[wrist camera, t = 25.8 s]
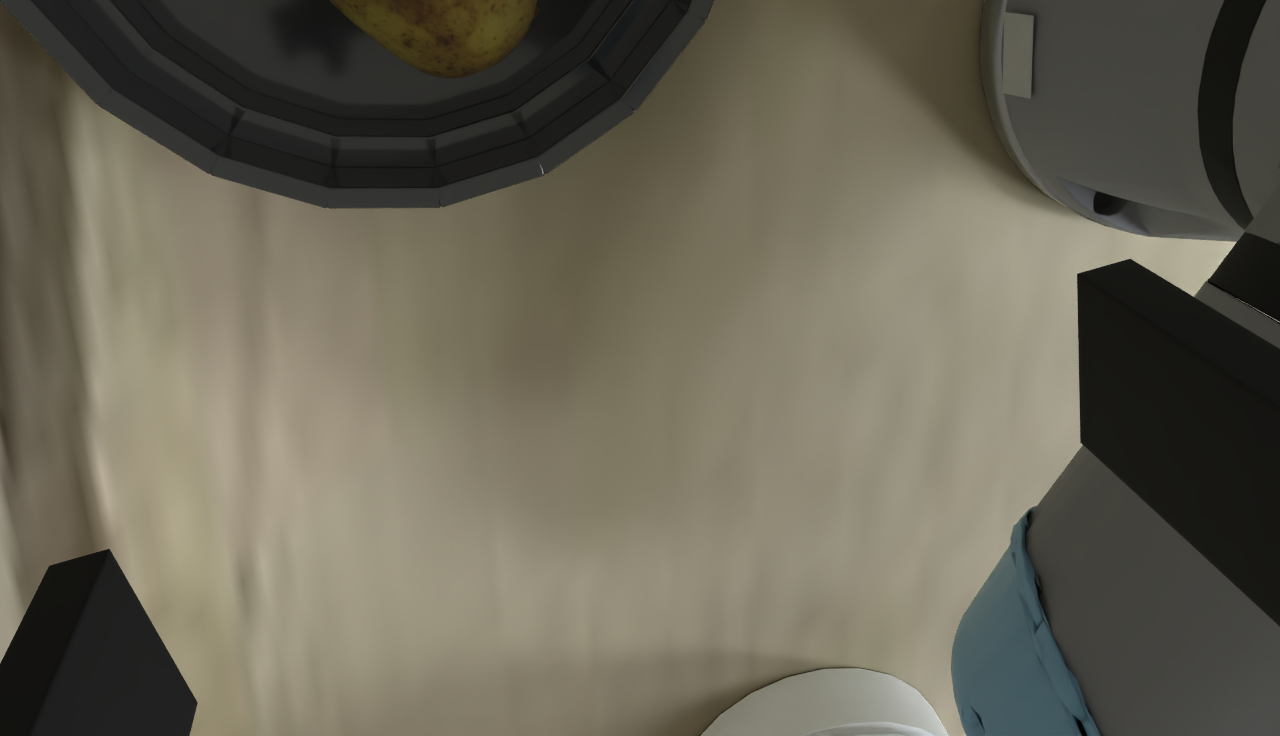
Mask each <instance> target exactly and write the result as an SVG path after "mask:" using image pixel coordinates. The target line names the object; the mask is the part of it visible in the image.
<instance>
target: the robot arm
mask: <svg viewBox="0 0 1280 736" xmlns="http://www.w3.org/2000/svg"><path fill="white" fill-rule="evenodd" d="M980 57H981V73H982V80H983V87H984V93H985V97H986V101H987V105H988V109H989V113H990V116H991V118H992V121H993V124H994V126H995V129H996V132H997V134H998V136H999V138H1000V140H1001V142H1002V144H1003V146H1004V148H1005V149H1006V151H1007V152H1008V154H1009V155H1010V157H1011V158H1012V160H1013V162H1014V163H1015V164H1016V166H1017V167H1018V168H1019V169H1020V170H1021V172H1022V173H1023V174H1024V175H1025V176H1026V177H1027V178H1028V179H1029V180H1030V181H1031V182H1032V183H1033V184H1034V185H1035V186H1036V187H1037V188H1038V189H1040V190H1041V191H1042V192H1044V193H1045V194H1046V195H1048V196H1049V197H1051V198H1052V199H1054V200H1055V201H1057V202H1059V203H1060V204H1062V205H1064V206H1065V207H1067V208H1069V209H1071V210H1072V211H1074V212H1076V213H1078V214H1080V215H1082V216H1083V217H1085V218H1087V219H1089V220H1091V221H1094V222H1097V223H1099V224H1102V225H1104V226H1108V227H1112V228H1115V229H1118V230H1122V231H1125V232H1129V233H1133V234H1138V235H1144V236H1150V237H1161V238H1180V239H1198V240H1217V241H1236V242H1237V243H1236V244H1235V245H1234V247H1233V248H1232V250H1231V251H1230V252H1229V254H1228V255H1227V256H1226V258H1225V259H1224V260H1223V262H1222V263H1221V264H1220V266H1219V267H1218V268H1217V270H1216V271H1215V272H1214V274H1213V275H1212V276H1211V278H1210V279H1208V281H1207V282H1205V283H1204V285H1203V286H1202V287H1201V289H1200V290H1199V291H1198V293H1197V294H1196V295H1195V297H1193V296H1191V295H1190V294H1188V293H1186V292H1185V291H1183V290H1181V289H1180V288H1178V287H1176V286H1175V285H1173V284H1171V283H1170V282H1168V281H1166V280H1165V279H1163V278H1161V277H1160V276H1158V275H1156V274H1155V273H1153V272H1151V271H1150V270H1148V269H1146V268H1145V267H1143V266H1141V265H1140V264H1138V263H1136V262H1135V261H1133V260H1131V259H1128V260H1124V261H1121V262H1117V263H1114V264H1110V265H1107V266H1103V267H1100V268H1096V269H1093V270H1089V271H1086V272H1082V273H1079V274H1077V288H1078V338H1079V389H1080V439H1081V443H1082V444H1083V446H1082V447H1081V448H1080V450H1079V451H1078V452H1077V454H1076V455H1075V456H1074V458H1073V459H1072V460H1071V462H1070V463H1069V464H1068V466H1067V467H1066V468H1065V470H1064V471H1063V472H1062V474H1061V475H1060V476H1059V478H1058V479H1057V480H1056V482H1055V483H1054V484H1053V486H1052V487H1051V488H1050V490H1049V491H1048V492H1047V494H1046V495H1045V496H1044V498H1043V499H1042V500H1041V502H1040V503H1039V504H1038V506H1035V507H1032V508H1031V509H1029V510H1028V511H1027V512H1026V513H1025V515H1024V516H1023V517H1021V518H1020V520H1019V521H1018V523H1017V524H1016V525H1014V527H1013V531H1012V535H1011V544H1010V546H1009V547H1008V549H1007V550H1006V552H1005V553H1004V555H1003V556H1002V558H1001V559H1000V561H999V562H998V564H997V565H996V567H995V568H994V570H993V571H992V573H991V574H990V576H989V577H988V579H987V580H986V582H985V583H984V585H983V586H982V588H981V589H980V591H979V592H978V594H977V595H976V597H975V598H974V600H973V601H972V603H971V604H970V606H969V607H968V609H967V610H966V612H965V613H964V615H963V617H962V619H961V621H960V624H959V626H958V629H957V632H956V635H955V639H954V643H953V648H952V660H951V673H952V682H953V690H954V697H955V701H956V704H957V708H958V712H959V716H960V719H961V722H962V726H963V729H964V731H965V733H966V735H967V736H1280V323H1279V322H1280V0H984V6H983V14H982V21H981V38H980ZM1224 291H1225V292H1224ZM1231 295H1232V296H1231ZM1233 296H1234V297H1233ZM1235 297H1236V298H1235ZM1240 300H1241V301H1240ZM1242 301H1243V302H1242ZM1244 302H1245V303H1244ZM1246 303H1247V304H1248V305H1247V304H1246ZM1249 305H1250V306H1249ZM1251 306H1252V307H1251ZM1253 307H1254V308H1253ZM1255 308H1256V309H1258V310H1259V311H1258V310H1256V309H1255ZM1260 311H1261V312H1260ZM1262 312H1263V313H1265V314H1267V315H1269V316H1270V317H1272V318H1274V319H1276V320H1278V321H1279V322H1278V321H1276V320H1274V319H1272V318H1270V317H1269V316H1267V315H1265V314H1263V313H1262ZM196 707H197V701H196V699H195V697H194V696H193V694H192V692H191V690H190V689H189V687H188V685H187V683H186V682H185V680H184V678H183V676H182V675H181V673H180V671H179V669H178V668H177V666H176V664H175V662H174V661H173V659H172V657H171V655H170V654H169V652H168V650H167V649H166V647H165V645H164V643H163V642H162V640H161V638H160V636H159V635H158V633H157V631H156V629H155V628H154V626H153V624H152V622H151V621H150V619H149V617H148V615H147V614H146V612H145V610H144V608H143V607H142V605H141V603H140V601H139V600H138V598H137V596H136V594H135V593H134V591H133V589H132V587H131V586H130V584H129V582H128V580H127V579H126V577H125V575H124V573H123V572H122V570H121V568H120V566H119V565H118V563H117V561H116V559H115V558H114V556H113V554H112V552H111V551H110V549H107V550H103V551H100V552H96V553H93V554H89V555H86V556H82V557H79V558H75V559H72V560H68V561H65V562H61V563H58V564H54V565H51V566H49V567H48V569H47V571H46V573H45V575H44V577H43V579H42V581H41V583H40V585H39V587H38V589H37V591H36V593H35V595H34V597H33V599H32V601H31V603H30V605H29V607H28V609H27V611H26V613H25V615H24V617H23V619H22V621H21V623H20V625H19V627H18V629H17V631H16V633H15V635H14V637H13V639H12V641H11V643H10V645H9V647H8V649H7V651H6V653H5V655H4V657H3V659H2V661H1V663H0V736H189V735H190V731H191V727H192V723H193V719H194V715H195V711H196Z"/></svg>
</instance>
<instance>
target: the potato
mask: <svg viewBox="0 0 1280 736" xmlns="http://www.w3.org/2000/svg"><path fill="white" fill-rule="evenodd" d="M330 2H331V3H332V4H334V5H335V6H336V7H337V8H338V9H339V10H340V11H341V12H342V13H343V14H344V15H345V16H346V17H347V18H348V19H349V20H351V21H352V22H353V23H354V24H355V25H357V26H358V27H359V28H360V29H361V30H363V31H364V32H365V33H366V34H368V35H369V36H370V37H371V38H373V39H374V40H375V41H376V42H378V43H379V44H380V45H381V46H383V47H384V48H385V49H387V50H388V51H389V52H391V53H392V54H393V55H395V56H396V57H397V58H399V59H400V60H402V61H403V62H405V63H406V64H408V65H410V66H412V67H413V68H415V69H417V70H419V71H421V72H424V73H426V74H428V75H432V76H436V77H441V78H447V79H453V78H463V77H467V76H470V75H473V74H476V73H479V72H481V71H484V70H486V69H488V68H490V67H492V66H494V65H496V64H498V63H499V62H501V61H503V60H504V59H505V58H506V57H507V56H508V55H509V54H510V53H511V52H513V51H514V50H515V48H516V47H517V46H518V44H519V43H520V42H521V40H522V39H523V38H524V36H525V34H526V33H527V31H528V29H529V27H530V24H531V22H532V20H533V19H534V18H535V17H536V16H537V15H538V13H539V8H538V7H537V5H536V3H537V0H330Z"/></svg>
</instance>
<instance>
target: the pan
mask: <svg viewBox="0 0 1280 736" xmlns="http://www.w3.org/2000/svg"><path fill="white" fill-rule="evenodd" d="M0 2H1V3H2V4H3V5H4V6H5V7H6V8H7V9H8V11H9V12H10V13H11V14H12V15H13V16H14V17H15V18H16V19H17V20H18V21H19V22H20V23H21V24H22V25H23V27H24V28H25V29H26V30H27V31H28V32H29V33H30V34H31V35H32V36H33V37H34V38H35V39H36V40H37V41H38V42H39V44H40V45H41V46H42V47H43V48H44V49H45V50H46V51H47V52H48V53H49V54H50V55H51V56H52V57H53V58H54V60H55V61H56V62H57V63H58V64H59V65H60V66H61V67H62V68H63V69H64V70H65V71H66V72H67V73H68V74H69V76H70V77H71V78H72V79H73V80H74V81H75V82H76V83H77V84H78V85H79V86H80V87H81V88H82V89H83V90H84V92H85V93H86V94H87V95H88V96H89V97H90V98H91V99H92V100H93V101H94V102H95V103H96V104H99V106H100V107H101V108H103V109H104V110H106V111H108V112H109V113H111V114H113V115H114V116H116V117H117V118H119V119H121V120H122V121H124V122H125V123H127V124H129V125H130V126H132V127H134V128H135V129H137V130H138V131H140V132H142V133H143V134H145V135H147V136H148V137H150V138H151V139H153V140H155V141H156V142H158V143H159V144H161V145H163V146H164V147H166V148H168V149H169V150H171V151H172V152H174V153H176V154H177V155H179V156H180V157H182V158H184V159H185V160H187V161H189V162H190V163H192V164H193V165H195V166H197V167H198V168H200V169H201V170H203V171H205V172H206V173H208V174H210V173H211V175H212V176H216V177H219V178H222V179H226V180H229V181H233V182H236V183H240V184H243V185H247V186H250V187H254V188H257V189H261V190H264V191H267V192H271V193H274V194H278V195H281V196H285V197H288V198H292V199H295V200H299V201H302V202H305V203H309V204H312V205H316V206H319V207H323V208H327V207H328V208H330V209H336V208H439V207H440V206H441V207H446V206H449V205H452V204H455V203H458V202H461V201H465V200H468V199H471V198H474V197H477V196H480V195H484V194H487V193H490V192H493V191H496V190H500V189H503V188H506V187H509V186H512V185H515V184H519V183H522V182H525V181H528V180H531V179H534V178H538V177H541V176H543V175H545V174H548V173H549V172H551V171H552V170H554V169H555V168H556V167H558V166H559V165H561V164H562V163H564V162H565V161H566V160H568V159H569V158H571V157H572V156H574V155H575V154H576V153H578V152H579V151H581V150H582V149H584V148H585V147H586V146H588V145H589V144H591V143H592V142H594V141H595V140H596V139H598V138H599V137H601V136H602V135H604V134H605V133H606V132H608V131H609V130H611V129H612V128H614V127H615V126H616V125H618V124H619V123H621V122H622V121H624V120H625V119H626V118H628V117H629V116H631V115H632V114H634V112H635V111H636V110H638V108H639V107H640V106H641V105H642V103H643V102H644V101H645V99H646V98H647V97H648V96H649V94H650V93H651V92H652V90H653V89H654V88H655V86H656V85H657V84H658V83H659V81H660V80H661V79H662V77H663V76H664V75H665V74H666V72H667V71H668V70H669V68H670V67H671V66H672V65H673V63H674V62H675V61H676V59H677V58H678V57H679V56H680V54H681V53H682V52H683V50H684V49H685V48H686V46H687V45H688V44H689V43H690V41H691V40H692V39H693V37H694V36H695V35H696V34H697V32H698V31H699V30H700V28H701V27H702V26H703V25H704V23H705V20H706V19H707V18H708V15H709V12H710V10H711V7H712V5H713V2H714V0H537V3H536V5H537V7H538V8H539V13H538V15H537V16H536V17H535V18H534V19H533V20H532V22H531V24H530V27H529V29H528V31H527V33H526V34H525V36H524V38H523V39H522V40H521V42H520V43H519V44H518V46H517V47H516V48H515V50H514V51H513V52H511V53H510V54H509V55H508V56H507V57H506V58H505V59H504V60H503V61H501V62H499V63H498V64H496V65H494V66H492V67H490V68H488V69H486V70H484V71H481V72H479V73H476V74H473V75H470V76H467V77H463V78H453V79H447V78H441V77H436V76H432V75H428V74H426V73H424V72H421V71H419V70H417V69H415V68H413V67H412V66H410V65H408V64H406V63H405V62H403V61H402V60H400V59H399V58H397V57H396V56H395V55H393V54H392V53H391V52H389V51H388V50H387V49H385V48H384V47H383V46H381V45H380V44H379V43H378V42H376V41H375V40H374V39H373V38H371V37H370V36H369V35H368V34H366V33H365V32H364V31H363V30H361V29H360V28H359V27H358V26H357V25H355V24H354V23H353V22H352V21H351V20H349V19H348V18H347V17H346V16H345V15H344V14H343V13H342V12H341V11H340V10H339V9H338V8H337V7H336V6H335V5H334V4H332V3H331V2H330V0H0Z"/></svg>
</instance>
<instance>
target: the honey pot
mask: <svg viewBox="0 0 1280 736" xmlns="http://www.w3.org/2000/svg"><path fill="white" fill-rule="evenodd" d="M701 736H949V735H948V733H947V731H946V730H945V728H944V726H943V725H942V723H941V721H940V719H939V718H938V716H937V714H936V713H935V711H934V709H933V708H932V707H931V706H930V704H929V703H928V702H927V701H926V700H925V699H924V698H923V696H922V695H921V694H920V693H919V692H918V691H917V690H916V689H915V688H913V687H912V686H910V685H908V684H906V683H904V682H903V681H901V680H899V679H897V678H895V677H894V676H892V675H888V674H884V673H879V672H875V671H870V670H866V669H861V668H842V669H821V670H817V671H812V672H808V673H804V674H799V675H795V676H791V677H787V678H784V679H782V680H780V681H777V682H775V683H773V684H771V685H768V686H766V687H764V688H762V689H759V690H757V691H755V692H753V693H751V694H749V695H748V696H746V697H745V698H743V699H742V700H741V701H739V702H738V703H736V704H735V705H733V706H732V707H731V708H729V709H728V710H726V711H725V712H723V713H722V714H720V715H719V717H718V718H717V719H716V720H715V721H714V722H713V723H712V724H711V725H710V726H709V727H708V728H707V729H706V730H705V731H704V732H703V733H702V735H701Z"/></svg>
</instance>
